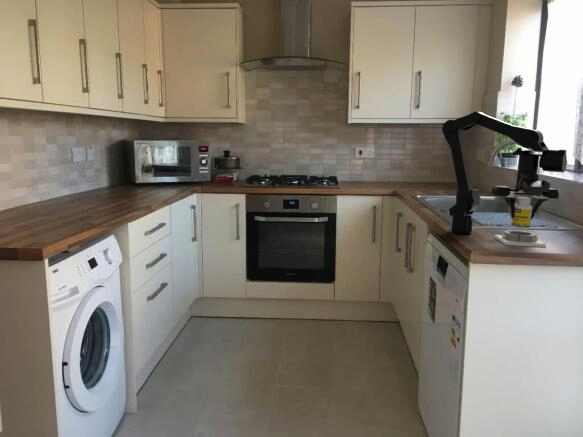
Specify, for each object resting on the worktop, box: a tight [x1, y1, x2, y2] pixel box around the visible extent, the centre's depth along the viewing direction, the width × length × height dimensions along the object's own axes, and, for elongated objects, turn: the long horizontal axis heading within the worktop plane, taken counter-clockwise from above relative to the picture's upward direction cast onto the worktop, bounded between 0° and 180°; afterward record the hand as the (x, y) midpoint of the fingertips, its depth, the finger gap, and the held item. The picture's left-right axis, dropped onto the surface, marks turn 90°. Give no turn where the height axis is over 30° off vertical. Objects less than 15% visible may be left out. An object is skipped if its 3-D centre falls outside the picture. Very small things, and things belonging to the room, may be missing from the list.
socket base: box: [493, 229, 547, 248], centre depth 151 cm, size 12×11×3 cm
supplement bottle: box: [510, 196, 532, 230], centre depth 150 cm, size 5×5×10 cm
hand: (521, 218), depth 150 cm, fingers closed on supplement bottle, 5 cm apart
